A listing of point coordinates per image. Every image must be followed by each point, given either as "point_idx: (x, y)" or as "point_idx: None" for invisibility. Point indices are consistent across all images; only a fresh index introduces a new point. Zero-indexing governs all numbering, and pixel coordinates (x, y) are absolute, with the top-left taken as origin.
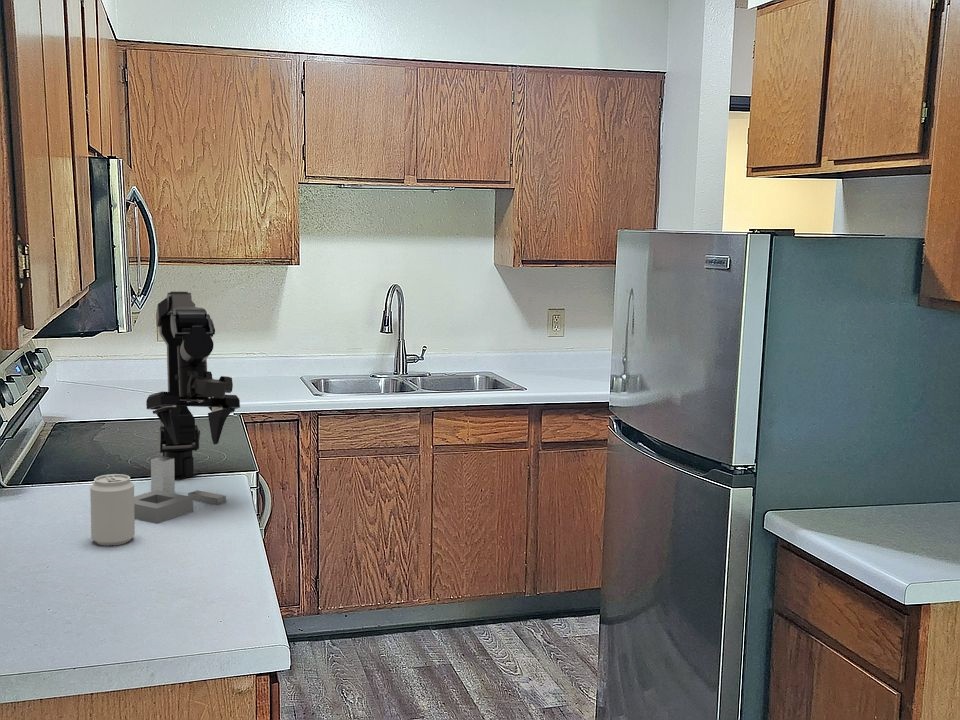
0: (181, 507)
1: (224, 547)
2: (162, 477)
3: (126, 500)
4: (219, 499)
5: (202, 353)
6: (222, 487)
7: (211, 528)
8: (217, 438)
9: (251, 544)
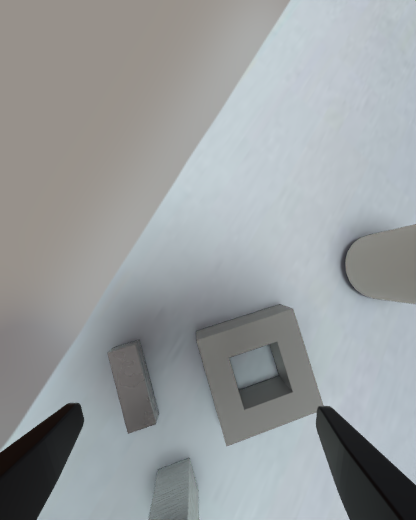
0: (226, 325)
1: (262, 130)
2: (188, 510)
3: None
4: (129, 345)
5: None
6: None
7: (226, 221)
8: (51, 424)
9: (225, 114)
